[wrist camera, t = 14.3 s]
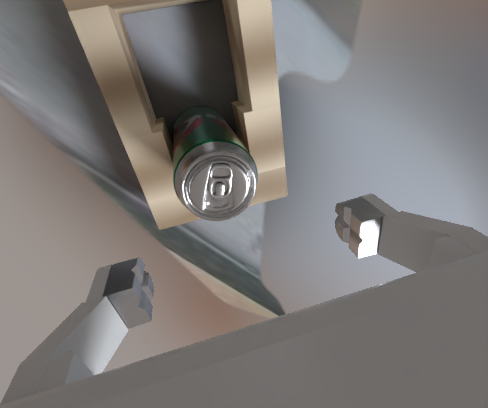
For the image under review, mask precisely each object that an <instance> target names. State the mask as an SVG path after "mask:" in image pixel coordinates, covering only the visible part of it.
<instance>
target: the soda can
mask: <svg viewBox="0 0 488 408" xmlns="http://www.w3.org/2000/svg"><path fill="white" fill-rule="evenodd" d="M257 181H258V172H257V167H256V164H255V161H254V159H253V157H252V156H251V155H250V153H249V152H248V151H247V149H246V148H245V147H244V145H243V144H242V143H241V141H240V140H239V139H238V137H237V136H236V135H235V133H234V132H233V131H232V129H231V128H230V126H229V125H228V124H227V122H226V121H225V120H224V118H223V117H222V116H221V115H220V114H219V113H218V112H217V111H215V110H213V109H211V108H209V107H204V106H196V107H192V108H189V109H187V110H186V111H184V112H183V113H182V114H181V115H180V116H179V117H178V118H177V120H176V122H175V125H174V129H173V184H174V189H175V192H176V195H177V197H178V199H179V200H180V201H181V203H182V204H183V205H184V206H185V207H186V208H187V209H189V210H190V211H191V212H192V213H193V214H195V215H196V216H198V217H200V218H202V219H205V220H210V221H223V220H227V219H230V218H233V217H235V216H237V215H239V214H240V213H241V212H243V211H244V210H245V209H246V208H247V207H248V206H249V204H250V203H251V201H252V200H253V198H254V195H255V192H256V186H257Z"/></svg>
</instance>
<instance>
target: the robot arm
mask: <svg viewBox="0 0 488 408" xmlns="http://www.w3.org/2000/svg"><path fill="white" fill-rule="evenodd" d="M335 212H336V213H337V214H338V217H337V218H336V220H335V228H336V231H337V234H338V236H339V237H340V238H341V239H342V241H344V242H347V243H349V249H350V250H351V251H352V252H353V253H354V254H355V255H356V257H357V258H362V257H365V256H369V255H373V254H376V253H378V254H379V255H381V256H383V257H385V258H387V259H389V260H391V261H394V262H396V263H398V264H400V265H402V266H404V267H406V268H408V269H410V270H413V271H415V272H417V273H414V274H411V275H408V276H405V277H402V278H399V279H396V280H393V281H389V282H386V283H383V284H380V285H377V286H374V287H371V288H367V289H364V290H361V291H358V292H355V293H352V294H349V295H345V296H342V297H339V298H336V299H332V300H329V301H326V302H323V303H320V304H317V305H314V306H310V307H307V308H304V309H301V310H298V311H295V312H292V313H288V314H285V315H282V316H279V317H276V318H273V319H270V320H266V321H263V322H260V323H257V324H254V325H251V326H248V327H245V328H241V329H238V330H235V331H232V332H229V333H226V334H223V335H219V336H216V337H213V338H210V339H207V340H203V341H200V342H197V343H194V344H191V345H188V346H185V347H182V348H178V349H175V350H172V351H169V352H166V353H163V354H160V355H156V356H153V357H150V358H147V359H144V360H141V361H138V362H134V363H131V364H128V365H125V366H122V367H119V368H116V369H112V370H109V371H106V372H103V370H104V369H105V367H106V365H107V364H108V362H109V360H110V359H111V357H112V356H113V354H114V352H115V351H116V349H117V348H118V346H119V344H120V343H121V341H122V340H123V338H124V336H125V335H126V333H127V332H128V329H129V328H132V327H135V326H138V325H140V324H144V323H147V322H150V321H151V319H152V308H153V306H152V304H151V302H150V300H151V299H152V298H153V294H154V288H153V282H152V279H151V276H150V275H149V273H148V272H146V271H144V267H145V264H144V263H143V261H142V259H140V258H136V259H132V260H128V261H124V262H120V263H116V264H113V265H108V266H105V267H101V268H99V269H98V270H97V272H96V274H95V277H94V280H93V283H92V286H91V289H90V292H89V295H88V297H87V300H86V302H84V303H81V304H80V305H79V306H78V307H77V308H76V309H75V310H74V311H73V312H72V313H71V314H70V315H69V316H68V317H67V318H66V319H65V320H64V321H63V322H62V323H61V324H60V325H59V326H58V327H57V328H56V329H55V330H54V331H53V332H52V333H51V334H50V335H49V336H48V337H47V338H46V339H45V340H44V341H43V342H42V343H41V344H40V345H39V346H38V347H37V348H36V349H35V350H34V351H33V352H32V353H31V354H30V355H29V356H28V357H27V358H26V359H25V360H24V361H23V362H22V363H21V364H20V365H19V367H18V369H17V371H16V373H15V375H14V377H13V379H12V382H11V383H10V385H9V388H8V390H7V392H6V394H5V396H4V398H3V400H2V402H1V404H0V408H488V237H487V236H485V235H483V234H482V233H480V232H478V231H477V230H475V229H473V228H471V227H467V226H463V225H459V224H455V223H450V222H446V221H442V220H437V219H433V218H429V217H425V216H421V215H416V214H412V213H408V212H403V211H401V212H398V211H396V210H395V209H394V208H392V207H391V206H389V205H388V204H387V203H385V202H384V201H382V200H381V199H380V198H378V197H377V196H375V195H374V194H371V193H370V194H367V195H363V196H360V197H358V198H354V199H351V200H347V201H344V202H340V203H337V205H336V209H335ZM102 372H103V373H102Z"/></svg>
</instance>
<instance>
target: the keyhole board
mask: <svg viewBox="0 0 488 408" xmlns="http://www.w3.org/2000/svg"><path fill="white" fill-rule="evenodd" d="M199 1H205V0H63V2H64V4H65V6H66V9H67V11H68V14H69V16H70V18H71V21H72V23H73V25H74V28H75V30H76V33H77V35H78V37H79V40H80V42H81V44H82V47H83V49H84V52H85V54H86V56H87V59H88V61H89V64H90V66H91V68H92V71H93V73H94V75H95V78H96V80H97V83H98V85H99V87H100V90H101V92H102V94H103V97H104V99H105V102H106V104H107V106H108V109H109V111H110V114H111V116H112V118H113V121H114V123H115V125H116V128H117V130H118V133H119V135H120V137H121V140H122V142H123V144H124V147H125V149H126V152H127V154H128V156H129V159H130V161H131V164H132V166H133V168H134V171H135V173H136V175H137V178H138V180H139V183H140V185H141V187H142V190H143V192H144V194H145V197H146V199H147V202H148V204H149V206H150V209H151V211H152V214H153V216H154V218H155V221H156V223H157V225H158V228H159V230H161V229H165V228H169V227H172V226H176V225H180V224H184V223H187V222H191V221H195V220H199V219H202V218H200V217H198V216H196V215H195V214H193V213H192V212H191V211H190V210H189V209H187V208H186V207H185V206H184V205H183V204H182V203H181V201H180V200H179V199H178V197H177V195H176V192H175V189H174V184H173V144H172V141H171V137H170V134H169V131H168V128H167V125H166V122H165V119H164V117H162V118H157V119H156V117H155V114H154V111H153V108H152V105H151V102H150V99H149V96H148V93H147V90H146V87H145V84H144V81H143V78H142V75H141V72H140V69H139V66H138V63H137V60H136V57H135V54H134V51H133V48H132V45H131V42H130V39H129V36H128V33H127V30H126V27H125V24H124V21H123V18H122V15H124V14H129V13H135V12H141V11H147V10H152V9H158V8H164V7H170V6H176V5H181V4H187V3H193V2H199ZM222 1H223V8H224V14H225V20H226V26H227V32H228V38H229V44H230V50H231V56H232V63H233V69H234V75H235V81H236V87H237V93H238V99H239V101H235V102H231V103H232V109H233V114H234V120H235V125H236V131H237V137H238V139H239V140H240V141H241V143H242V144H243V145H244V147H245V148H246V149H247V151H248V152H249V153H250V155H251V156H252V157H253V159H254V161H255V164H256V167H257V172H258V181H257V186H256V192H255V195H254V198H253V200H252V201H251V203H250V204H249V206H251V205H255V204H259V203H263V202H266V201H270V200H274V199H277V198H282V197H285V196H288V194H287V182H286V170H285V159H284V147H283V136H282V123H281V111H280V100H279V88H278V76H277V65H276V53H275V41H274V29H273V18H272V6H271V0H222Z"/></svg>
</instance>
